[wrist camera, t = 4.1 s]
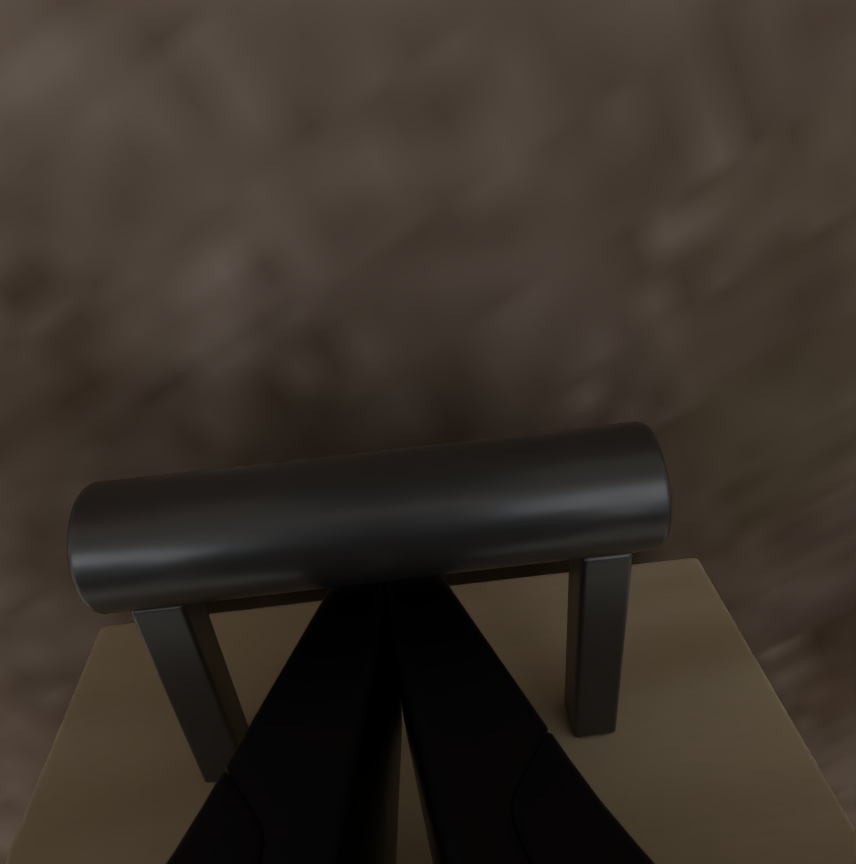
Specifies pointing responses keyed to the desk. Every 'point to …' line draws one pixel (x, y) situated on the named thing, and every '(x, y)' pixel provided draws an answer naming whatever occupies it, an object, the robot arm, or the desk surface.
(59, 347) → the desk surface
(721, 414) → the desk surface
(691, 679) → the drawer
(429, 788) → the robot arm
